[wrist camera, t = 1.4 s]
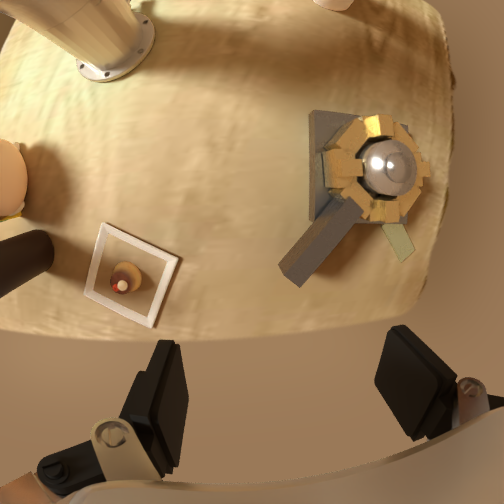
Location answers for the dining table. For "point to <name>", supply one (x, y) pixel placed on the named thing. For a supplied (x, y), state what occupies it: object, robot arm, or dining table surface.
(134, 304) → the dining table surface
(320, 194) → the housing
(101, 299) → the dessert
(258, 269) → the dining table surface
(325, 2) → the cylindrical container
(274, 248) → the dining table surface
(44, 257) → the bottle
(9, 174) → the hamburger
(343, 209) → the ring nut
